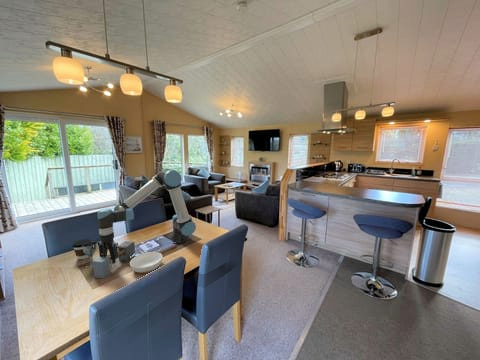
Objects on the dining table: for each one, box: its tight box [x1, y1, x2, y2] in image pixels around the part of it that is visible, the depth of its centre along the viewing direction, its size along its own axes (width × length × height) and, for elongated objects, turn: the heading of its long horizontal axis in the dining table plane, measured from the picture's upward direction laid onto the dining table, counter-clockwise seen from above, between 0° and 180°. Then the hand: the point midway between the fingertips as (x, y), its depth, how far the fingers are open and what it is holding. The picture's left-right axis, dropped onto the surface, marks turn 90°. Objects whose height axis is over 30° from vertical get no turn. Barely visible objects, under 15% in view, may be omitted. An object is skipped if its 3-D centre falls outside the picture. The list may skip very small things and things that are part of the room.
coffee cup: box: [71, 238, 92, 260], centre depth 139 cm, size 11×11×12 cm
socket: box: [92, 256, 111, 279], centre depth 120 cm, size 5×7×11 cm
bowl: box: [129, 251, 163, 274], centre depth 128 cm, size 20×20×6 cm
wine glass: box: [82, 240, 99, 268], centre depth 131 cm, size 8×8×15 cm
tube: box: [108, 248, 125, 262], centre depth 129 cm, size 19×4×4 cm, turn 169°
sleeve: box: [118, 240, 136, 262], centre depth 140 cm, size 8×7×11 cm
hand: (110, 267), depth 126 cm, fingers closed on tube, 4 cm apart
